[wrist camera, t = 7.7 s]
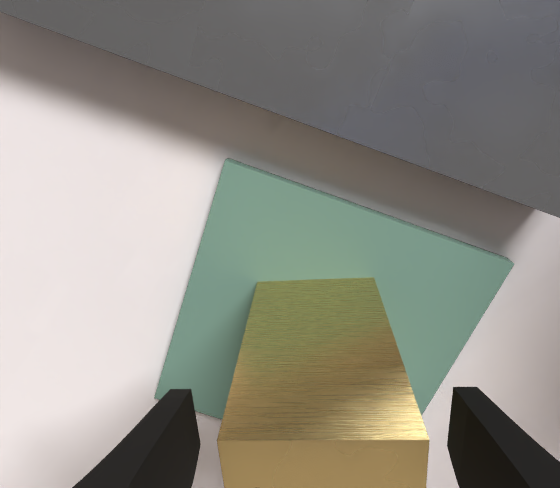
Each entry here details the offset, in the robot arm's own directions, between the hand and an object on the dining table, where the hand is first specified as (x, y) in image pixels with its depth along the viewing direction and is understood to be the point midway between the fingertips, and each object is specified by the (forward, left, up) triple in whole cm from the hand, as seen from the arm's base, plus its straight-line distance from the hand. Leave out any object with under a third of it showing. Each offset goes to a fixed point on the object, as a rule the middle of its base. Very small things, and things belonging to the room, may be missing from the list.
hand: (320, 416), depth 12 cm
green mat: (0, 0, -4) cm, 4 cm away
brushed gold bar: (0, 0, -4) cm, 4 cm away
